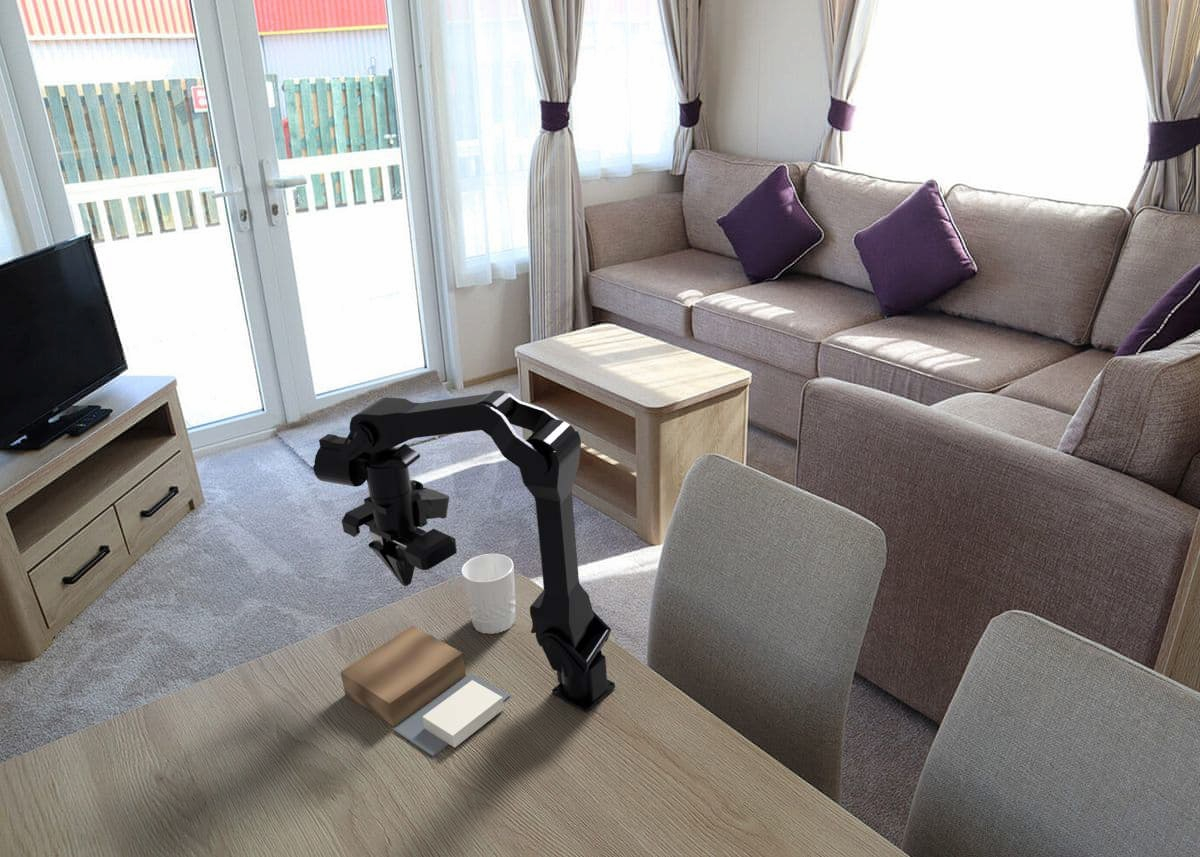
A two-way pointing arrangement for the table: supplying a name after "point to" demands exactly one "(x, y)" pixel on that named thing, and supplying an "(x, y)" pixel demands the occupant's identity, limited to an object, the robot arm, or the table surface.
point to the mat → (414, 724)
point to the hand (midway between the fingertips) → (406, 584)
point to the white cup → (490, 592)
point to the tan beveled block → (403, 675)
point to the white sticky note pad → (463, 713)
